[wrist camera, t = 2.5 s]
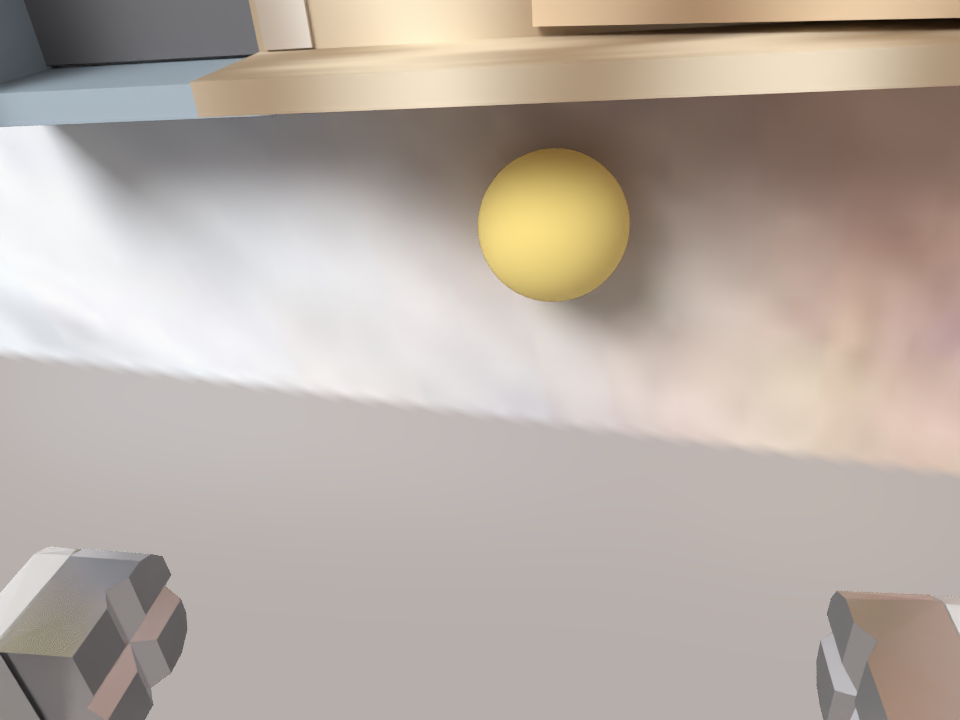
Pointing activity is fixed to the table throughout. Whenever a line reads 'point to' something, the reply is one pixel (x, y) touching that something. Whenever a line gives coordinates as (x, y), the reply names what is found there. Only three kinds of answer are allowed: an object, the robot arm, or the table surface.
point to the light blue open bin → (113, 57)
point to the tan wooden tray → (575, 52)
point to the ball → (553, 224)
